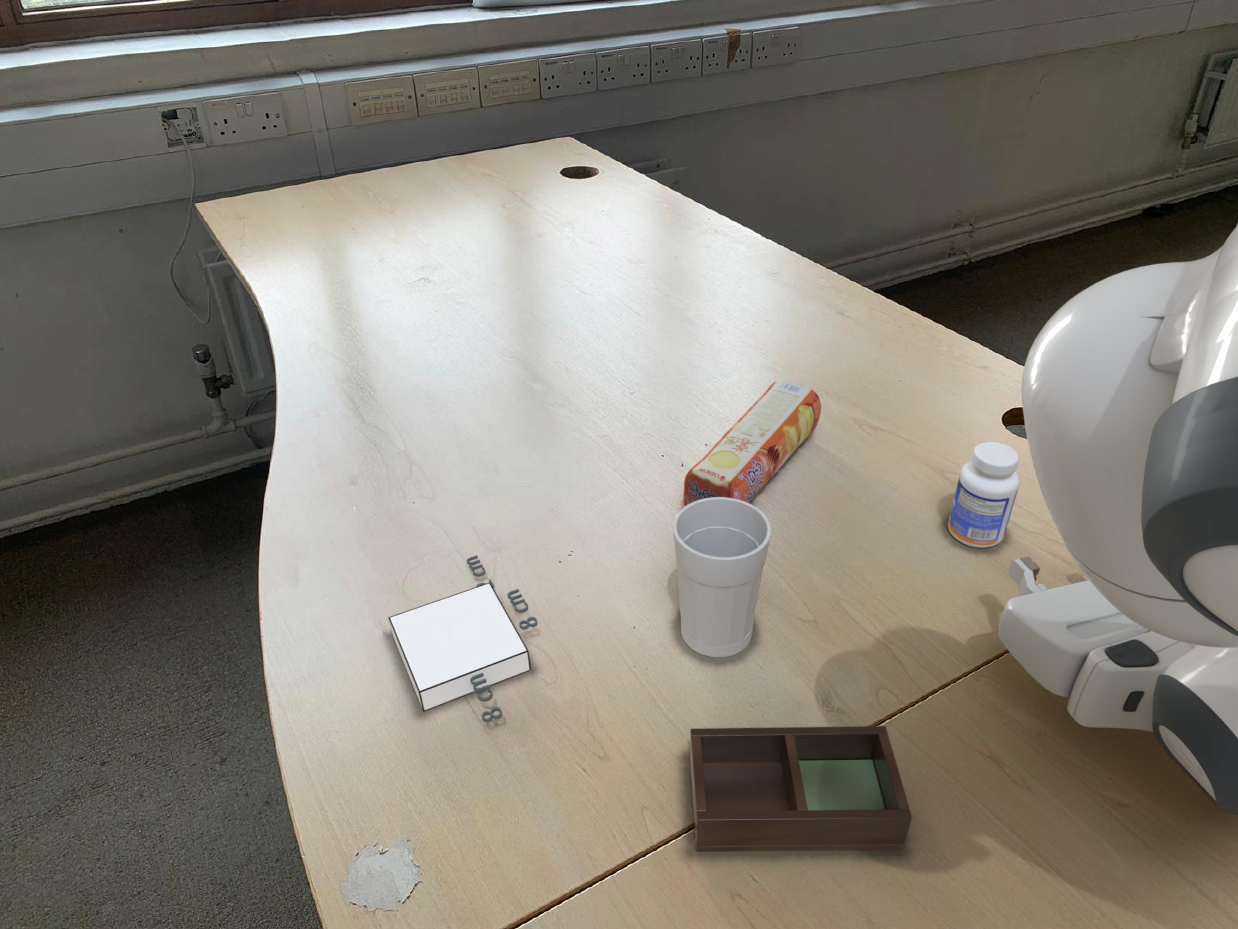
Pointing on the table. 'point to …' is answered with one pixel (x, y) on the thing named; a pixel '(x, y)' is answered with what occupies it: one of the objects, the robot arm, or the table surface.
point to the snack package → (755, 444)
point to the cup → (719, 572)
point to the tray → (796, 789)
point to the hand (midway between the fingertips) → (1064, 552)
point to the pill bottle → (985, 495)
